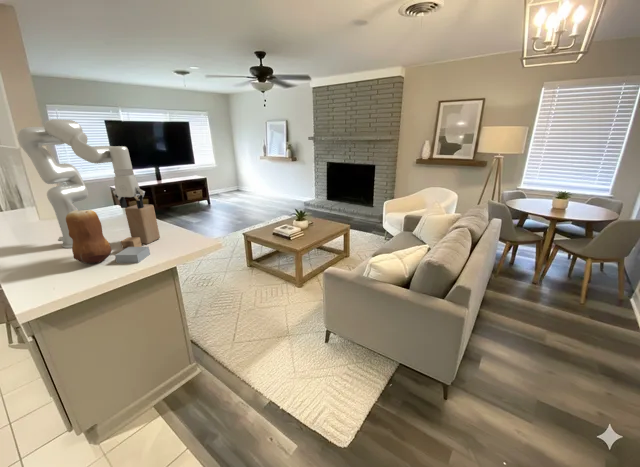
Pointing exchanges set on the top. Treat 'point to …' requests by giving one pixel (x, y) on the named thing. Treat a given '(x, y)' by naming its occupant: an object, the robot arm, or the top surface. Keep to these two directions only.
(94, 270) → the top surface
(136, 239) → the walnut cube
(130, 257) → the pedestal
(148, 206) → the block
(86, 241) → the butternut squash
